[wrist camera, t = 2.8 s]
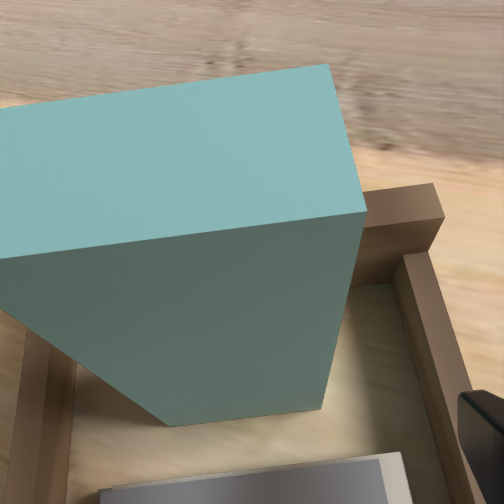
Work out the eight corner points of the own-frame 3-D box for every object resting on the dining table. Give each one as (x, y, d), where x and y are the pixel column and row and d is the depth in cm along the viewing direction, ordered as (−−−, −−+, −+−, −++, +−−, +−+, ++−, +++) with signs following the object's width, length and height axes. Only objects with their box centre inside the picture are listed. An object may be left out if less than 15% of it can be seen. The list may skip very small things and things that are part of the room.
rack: (23, 660, 16) (-82, 715, 11) (61, 293, 22) (3, 238, 18) (511, 605, 15) (597, 641, 11) (405, 249, 22) (433, 183, 17)
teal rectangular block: (170, 427, 19) (-60, 266, 7) (169, 353, 20) (-22, 111, 8) (320, 408, 19) (367, 210, 7) (308, 335, 20) (328, 63, 8)
